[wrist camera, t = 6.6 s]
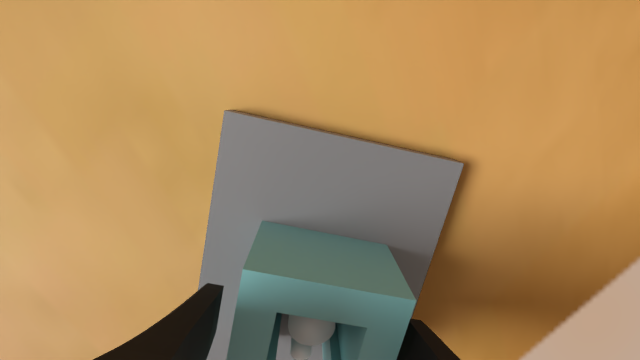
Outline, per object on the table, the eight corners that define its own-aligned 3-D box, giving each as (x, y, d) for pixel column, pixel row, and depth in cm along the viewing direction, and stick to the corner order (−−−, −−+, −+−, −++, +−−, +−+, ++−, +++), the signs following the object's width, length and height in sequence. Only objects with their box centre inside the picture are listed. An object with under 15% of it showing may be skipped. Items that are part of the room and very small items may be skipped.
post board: (372, 402, 17) (387, 476, 14) (190, 375, 17) (159, 445, 13) (453, 159, 14) (498, 178, 11) (230, 109, 13) (203, 113, 10)
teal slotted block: (262, 220, 14) (242, 269, 10) (387, 244, 14) (416, 300, 10) (241, 329, 15) (217, 410, 11) (356, 348, 15) (371, 433, 11)
